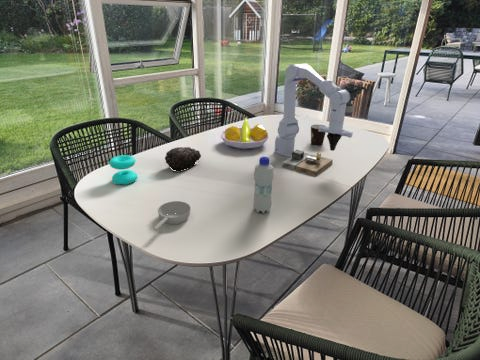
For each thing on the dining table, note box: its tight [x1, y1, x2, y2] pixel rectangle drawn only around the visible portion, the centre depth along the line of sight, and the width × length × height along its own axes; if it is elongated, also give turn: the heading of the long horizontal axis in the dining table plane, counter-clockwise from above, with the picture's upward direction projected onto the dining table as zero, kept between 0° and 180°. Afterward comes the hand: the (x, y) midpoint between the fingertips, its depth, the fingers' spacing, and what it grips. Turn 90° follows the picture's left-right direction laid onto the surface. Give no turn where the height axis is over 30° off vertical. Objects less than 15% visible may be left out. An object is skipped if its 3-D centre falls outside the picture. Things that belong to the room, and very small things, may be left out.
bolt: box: [305, 152, 322, 164], centre depth 149 cm, size 7×2×5 cm, turn 52°
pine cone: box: [164, 146, 202, 172], centre depth 148 cm, size 10×18×10 cm, turn 148°
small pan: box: [153, 200, 192, 230], centre depth 106 cm, size 11×18×4 cm, turn 163°
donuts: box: [108, 154, 138, 185], centre depth 133 cm, size 10×10×10 cm
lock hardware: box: [291, 149, 315, 164], centre depth 152 cm, size 11×5×3 cm, turn 52°
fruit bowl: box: [220, 117, 270, 150], centre depth 176 cm, size 28×27×11 cm
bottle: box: [253, 156, 274, 214], centre depth 110 cm, size 7×7×20 cm
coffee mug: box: [310, 123, 328, 147], centre depth 179 cm, size 12×9×10 cm
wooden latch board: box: [281, 152, 334, 177], centre depth 152 cm, size 17×18×2 cm
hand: (332, 149), depth 142 cm, fingers closed
